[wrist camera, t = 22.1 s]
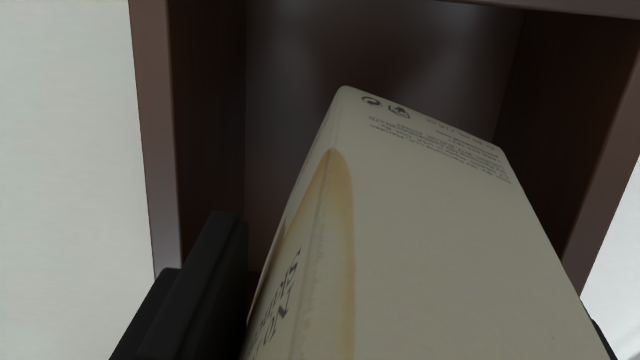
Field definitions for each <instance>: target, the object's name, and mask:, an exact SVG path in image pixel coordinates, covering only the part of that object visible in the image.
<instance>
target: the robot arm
mask: <svg viewBox="0 0 640 360" xmlns="http://www.w3.org/2000/svg"><path fill="white" fill-rule="evenodd" d="M248 246H249V223H248V221H242V220H240V214H239V213H231V212H223V211H212V212H211V214H210V216H209V217H208V219H207V221H206V223H205V225H204V227H203V229H202V230H201V232H200V234H199V236H198V238H197V240H196V242H195V244H194V245H193V247H192V249H191V251H190V253H189V255H188V257H187V258H186V260H185V262H184V264H183V266H182V268H181V269H178V268H170V267H166V268H164V269H163V270H162V271H161V272H160V274H159V275H158V277H157V279H156V280H155V282H154V284H153V285H152V287H151V289H150V291H149V292H148V294H147V296H146V297H145V299H144V301H143V302H142V304H141V306H140V307H139V309H138V311H137V313H136V314H135V316H134V318H133V319H132V321H131V323H130V324H129V326H128V328H127V330H126V331H125V333H124V335H123V336H122V338H121V340H120V341H119V343H118V345H117V347H116V348H115V350H114V352H113V353H112V355H111V357H110V358H109V360H237V357H238V354H239V351H240V347H241V344H242V340H243V337H244V333H245V330H246V324H247V304H248ZM576 293H577V292H576ZM577 295H578V294H577ZM578 297H579V296H578ZM579 299H580V298H579ZM580 301H581V299H580ZM581 303H582V301H581ZM582 305H583V303H582ZM583 306H584V305H583ZM584 308H585V307H584ZM585 310H586V308H585ZM586 312H587V310H586ZM587 314H588V312H587ZM588 316H589V318H590V320H591V322H592V324H593V326H594V328H595V330H596V332H597V334H598V336H599V338H600V340H601V342H602V344H603V346H604V348H605V350H606V352H607V354H608V356H609V358H610V360H618V359H617V357H616V356H615V354H614V352H613V350H612V349H611V347H610V345H609V343H608V342H607V340H606V338H605V336H604V335H603V333H602V331H601V329H600V328H599V326H598V325H597V324H596V322H595V321H594V320H593V319H591V317H590V315H589V314H588Z"/></svg>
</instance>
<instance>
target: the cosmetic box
mask: <svg viewBox="0 0 640 360" xmlns="http://www.w3.org/2000/svg"><path fill="white" fill-rule="evenodd" d="M237 360H610V358H609V356H608V354H607V352H606V350H605V348H604V346H603V344H602V342H601V340H600V338H599V336H598V334H597V332H596V330H595V328H594V326H593V324H592V322H591V320H590V318H589V316H588V314H587V312H586V310H585V308H584V306H583V305H582V303H581V301H580V299H579V297H578V295H577V293H576V291H575V289H574V287H573V285H572V283H571V282H570V280H569V278H568V276H567V274H566V273H565V270H564V268H563V266H562V264H561V262H560V260H559V258H558V256H557V254H556V253H555V251H554V249H553V247H552V245H551V243H550V241H549V239H548V237H547V235H546V234H545V232H544V230H543V228H542V226H541V224H540V222H539V220H538V218H537V216H536V214H535V212H534V210H533V208H532V206H531V204H530V203H529V201H528V199H527V197H526V195H525V193H524V191H523V188H522V187H521V185H520V184H519V181H518V179H517V177H516V175H515V173H514V171H513V170H512V168H511V166H510V164H509V162H508V160H507V158H506V156H505V154H504V152H503V151H502V150H501V149H500V148H499V147H497V146H495V145H493V144H491V143H489V142H487V141H484V140H482V139H480V138H477V137H475V136H473V135H470V134H468V133H466V132H464V131H462V130H460V129H457V128H455V127H452V126H450V125H448V124H445V123H443V122H441V121H439V120H436V119H434V118H431V117H429V116H427V115H424V114H422V113H420V112H417V111H415V110H412V109H410V108H407V107H405V106H402V105H400V104H397V103H394V102H392V101H389V100H386V99H384V98H381V97H378V96H375V95H372V94H370V93H367V92H364V91H362V90H359V89H356V88H353V87H350V86H342V87H340V88H339V89H338V91H337V92H336V94H335V96H334V99H333V101H332V103H331V105H330V107H329V109H328V111H327V113H326V116H325V118H324V120H323V122H322V124H321V126H320V128H319V130H318V133H317V135H316V137H315V139H314V141H313V144H312V146H311V148H310V150H309V152H308V155H307V157H306V159H305V162H304V164H303V166H302V169H301V171H300V173H299V176H298V178H297V181H296V183H295V185H294V188H293V190H292V192H291V194H290V197H289V200H288V202H287V205H286V208H285V210H284V213H283V216H282V218H281V221H280V224H279V226H278V229H277V232H276V235H275V237H274V240H273V243H272V245H271V248H270V251H269V254H268V256H267V259H266V262H265V264H264V267H263V270H262V273H261V277H260V280H259V283H258V287H257V290H256V293H255V296H254V299H253V302H252V305H251V308H250V311H249V315H248V318H247V324H246V330H245V333H244V337H243V340H242V344H241V347H240V351H239V354H238V357H237Z"/></svg>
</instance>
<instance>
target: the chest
mask: <svg viewBox="0 0 640 360" xmlns="http://www.w3.org/2000/svg"><path fill="white" fill-rule="evenodd" d="M128 5H129V15H130V26H131V36H132V47H133V57H134V68H135V78H136V89H137V99H138V110H139V120H140V131H141V141H142V152H143V162H144V173H145V183H146V194H147V204H148V215H149V225H150V236H151V246H152V257H153V267H154V278H155V280H156V279H157V277H158V275H159V274H160V272H161V271H162V270H163V269H164V268H166V267H170V268H178V269H181V268H182V266H183V264H184V262H185V260H186V258H187V257H188V255H189V253H190V251H191V249H192V247H193V245H194V244H195V242H196V240H197V238H198V236H199V234H200V232H201V230H202V229H203V227H204V225H205V223H206V221H207V219H208V217H209V216H210V214H211V212H212V211H223V212H231V213H239V214H240V220H242V221H248V223H249V246H248V304H247V318H248V315H249V311H250V308H251V305H252V302H253V299H254V296H255V293H256V290H257V287H258V283H259V280H260V277H261V273H262V270H263V267H264V264H265V262H266V259H267V256H268V254H269V251H270V248H271V245H272V243H273V240H274V237H275V235H276V232H277V229H278V226H279V224H280V221H281V218H282V216H283V213H284V210H285V208H286V205H287V202H288V200H289V197H290V194H291V192H292V190H293V188H294V185H295V183H296V181H297V178H298V176H299V173H300V171H301V169H302V166H303V164H304V162H305V159H306V157H307V155H308V152H309V150H310V148H311V146H312V144H313V141H314V139H315V137H316V135H317V133H318V130H319V128H320V126H321V124H322V122H323V120H324V118H325V116H326V113H327V111H328V109H329V107H330V105H331V103H332V101H333V99H334V96H335V94H336V92H337V91H338V89H339V88H340V87H342V86H350V87H353V88H356V89H359V90H362V91H364V92H367V93H370V94H372V95H375V96H378V97H381V98H384V99H386V100H389V101H392V102H394V103H397V104H400V105H402V106H405V107H407V108H410V109H412V110H415V111H417V112H420V113H422V114H424V115H427V116H429V117H431V118H434V119H436V120H439V121H441V122H443V123H445V124H448V125H450V126H452V127H455V128H457V129H460V130H462V131H464V132H466V133H468V134H470V135H473V136H475V137H477V138H480V139H482V140H484V141H487V142H489V143H491V144H493V145H495V146H497V147H499V148H500V149H501V150H502V151H503V152H504V154H505V156H506V158H507V160H508V162H509V164H510V166H511V168H512V170H513V171H514V173H515V175H516V177H517V179H518V181H519V184H520V185H521V187H522V188H523V191H524V193H525V195H526V197H527V199H528V201H529V203H530V204H531V206H532V208H533V210H534V212H535V214H536V216H537V218H538V220H539V222H540V224H541V226H542V228H543V230H544V232H545V234H546V235H547V237H548V239H549V241H550V243H551V245H552V247H553V249H554V251H555V253H556V254H557V256H558V258H559V260H560V262H561V264H562V266H563V268H564V270H565V273H566V274H567V276H568V278H569V280H570V282H571V283H572V285H573V287H574V289H575V291H576V292H577V294H578V296H579V297H580V295H581V293H582V290H583V288H584V285H585V283H586V281H587V278H588V276H589V274H590V271H591V269H592V266H593V264H594V262H595V259H596V257H597V255H598V252H599V250H600V248H601V245H602V243H603V240H604V238H605V236H606V233H607V231H608V229H609V226H610V224H611V221H612V219H613V217H614V214H615V212H616V210H617V207H618V205H619V202H620V200H621V198H622V195H623V193H624V191H625V188H626V186H627V183H628V181H629V179H630V176H631V174H632V172H633V169H634V167H635V165H636V162H637V160H638V157H639V155H640V0H128Z"/></svg>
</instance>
